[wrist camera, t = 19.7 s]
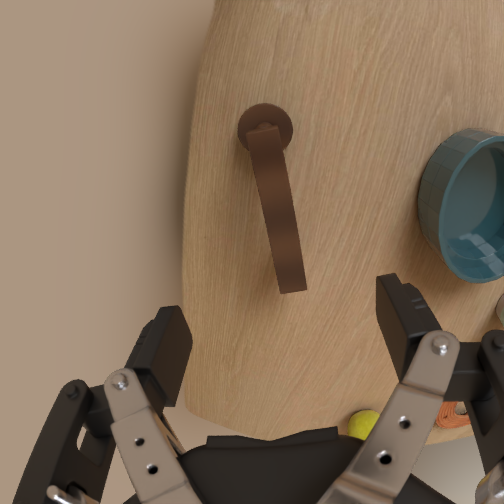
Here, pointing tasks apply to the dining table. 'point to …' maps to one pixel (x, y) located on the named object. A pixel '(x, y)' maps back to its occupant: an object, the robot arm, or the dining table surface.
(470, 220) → the mixing bowl
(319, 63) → the dining table surface
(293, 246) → the brown wooden bracket
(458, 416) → the ring
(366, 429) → the fruit
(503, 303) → the coffee cup
